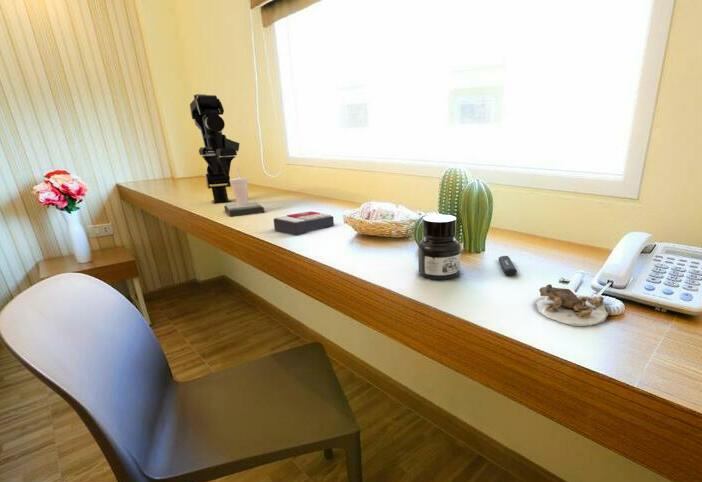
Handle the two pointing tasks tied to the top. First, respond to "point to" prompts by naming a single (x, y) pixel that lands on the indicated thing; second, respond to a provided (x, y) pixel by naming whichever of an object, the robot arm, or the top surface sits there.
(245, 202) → the smoothie
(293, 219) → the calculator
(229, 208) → the scale
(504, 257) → the usb stick
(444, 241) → the ink bottle
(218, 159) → the robot arm
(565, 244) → the top surface
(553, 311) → the frog figurine
